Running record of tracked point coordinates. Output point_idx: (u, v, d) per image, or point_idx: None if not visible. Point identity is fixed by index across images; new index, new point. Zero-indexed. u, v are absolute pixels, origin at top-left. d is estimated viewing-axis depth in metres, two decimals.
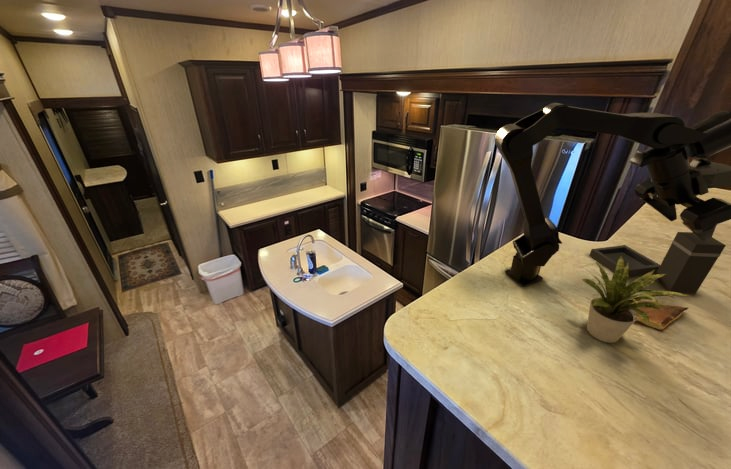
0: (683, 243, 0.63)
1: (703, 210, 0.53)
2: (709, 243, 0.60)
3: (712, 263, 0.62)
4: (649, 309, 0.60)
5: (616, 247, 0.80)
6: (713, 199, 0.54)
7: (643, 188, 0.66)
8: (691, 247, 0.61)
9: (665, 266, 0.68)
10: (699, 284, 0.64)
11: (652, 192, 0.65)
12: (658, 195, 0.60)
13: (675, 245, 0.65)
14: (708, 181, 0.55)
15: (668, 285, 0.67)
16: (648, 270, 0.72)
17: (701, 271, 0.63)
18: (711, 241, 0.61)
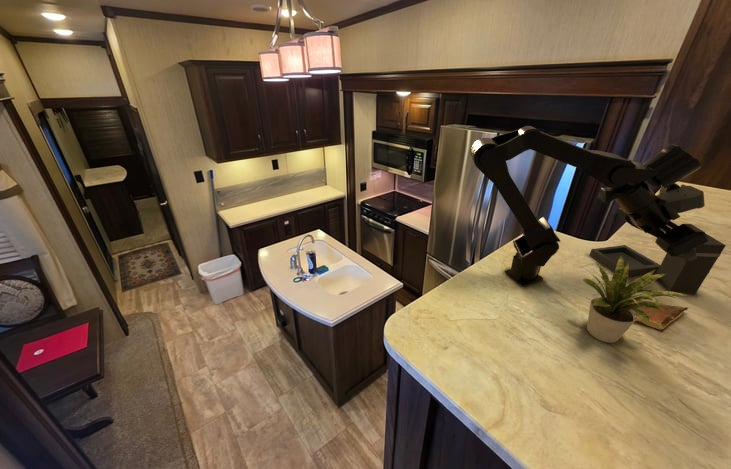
0: None
1: (673, 238, 0.56)
2: (709, 243, 0.60)
3: (712, 263, 0.62)
4: (649, 309, 0.60)
5: (616, 247, 0.80)
6: (682, 225, 0.56)
7: (624, 212, 0.69)
8: None
9: (665, 266, 0.68)
10: (699, 284, 0.64)
11: None
12: (634, 222, 0.63)
13: None
14: (676, 207, 0.58)
15: (668, 285, 0.67)
16: (648, 270, 0.72)
17: (701, 271, 0.63)
18: (711, 241, 0.61)
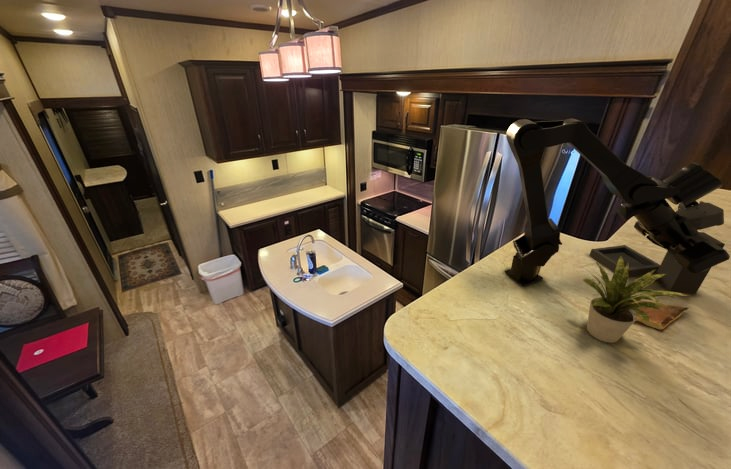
0: None
1: (694, 255, 0.57)
2: None
3: None
4: (649, 309, 0.60)
5: (616, 247, 0.80)
6: (702, 243, 0.57)
7: (641, 227, 0.70)
8: None
9: (665, 266, 0.68)
10: (699, 284, 0.64)
11: None
12: (653, 238, 0.64)
13: None
14: (696, 224, 0.59)
15: (668, 285, 0.67)
16: (648, 270, 0.72)
17: None
18: (710, 240, 0.61)
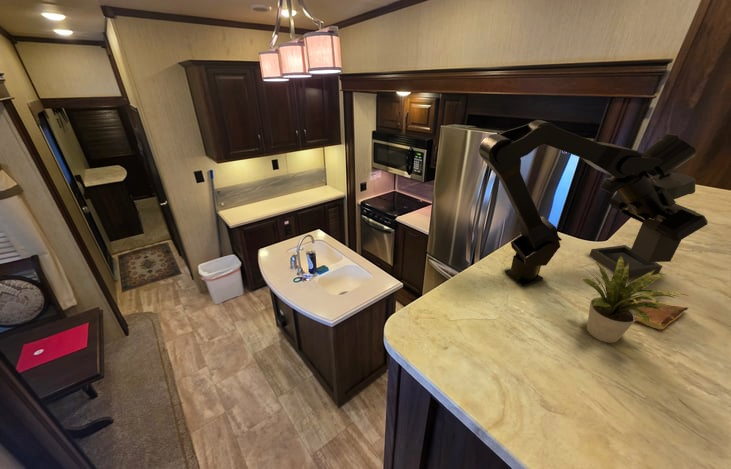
0: None
1: (676, 223, 0.58)
2: None
3: None
4: (649, 309, 0.60)
5: (616, 247, 0.80)
6: (681, 211, 0.59)
7: (617, 202, 0.71)
8: None
9: (641, 238, 0.70)
10: (673, 252, 0.67)
11: None
12: (633, 210, 0.66)
13: None
14: (673, 194, 0.61)
15: (646, 255, 0.69)
16: (648, 270, 0.72)
17: None
18: None
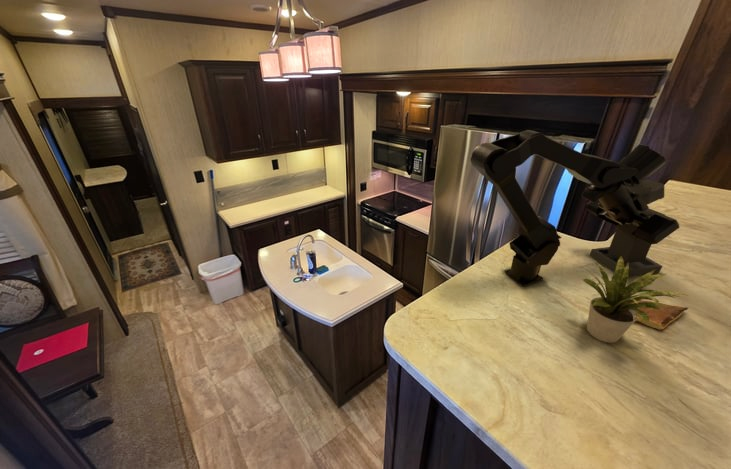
0: None
1: (652, 228, 0.62)
2: None
3: None
4: (649, 309, 0.60)
5: None
6: (655, 215, 0.63)
7: (594, 207, 0.75)
8: None
9: (617, 240, 0.75)
10: (647, 252, 0.72)
11: None
12: (611, 216, 0.69)
13: None
14: (646, 199, 0.65)
15: (623, 257, 0.73)
16: (648, 270, 0.72)
17: None
18: (653, 212, 0.69)
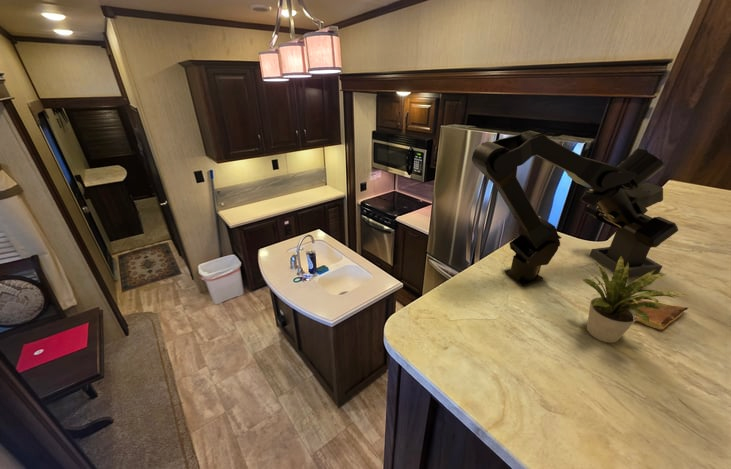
0: None
1: (651, 231, 0.63)
2: None
3: None
4: (649, 309, 0.60)
5: None
6: (654, 219, 0.63)
7: (593, 210, 0.75)
8: (638, 227, 0.69)
9: (615, 246, 0.75)
10: (644, 258, 0.73)
11: (601, 212, 0.75)
12: (610, 219, 0.70)
13: None
14: (645, 203, 0.65)
15: None
16: (648, 270, 0.72)
17: (645, 247, 0.71)
18: None
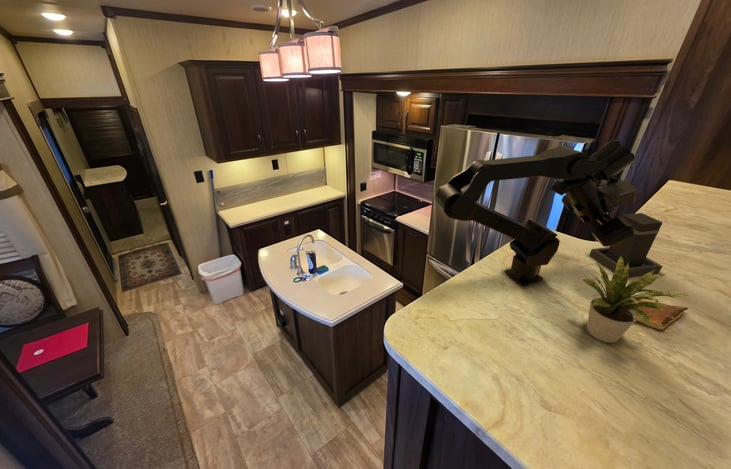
0: None
1: (608, 230, 0.61)
2: (651, 222, 0.68)
3: (653, 239, 0.70)
4: (649, 309, 0.60)
5: None
6: (616, 219, 0.62)
7: (567, 201, 0.74)
8: (638, 227, 0.69)
9: None
10: (644, 258, 0.73)
11: None
12: (576, 212, 0.68)
13: None
14: (613, 201, 0.63)
15: None
16: (648, 270, 0.72)
17: (645, 247, 0.71)
18: (651, 220, 0.69)
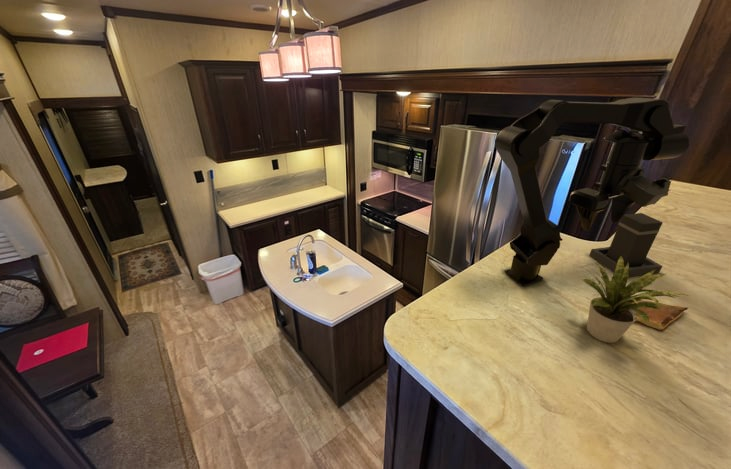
0: (629, 224, 0.71)
1: (585, 191, 0.63)
2: (651, 222, 0.68)
3: (653, 239, 0.70)
4: (649, 309, 0.60)
5: None
6: (603, 193, 0.62)
7: None
8: (638, 227, 0.69)
9: (615, 246, 0.75)
10: (644, 258, 0.73)
11: None
12: None
13: (622, 227, 0.73)
14: (626, 186, 0.60)
15: None
16: (648, 270, 0.72)
17: (645, 247, 0.71)
18: (651, 220, 0.69)
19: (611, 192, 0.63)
